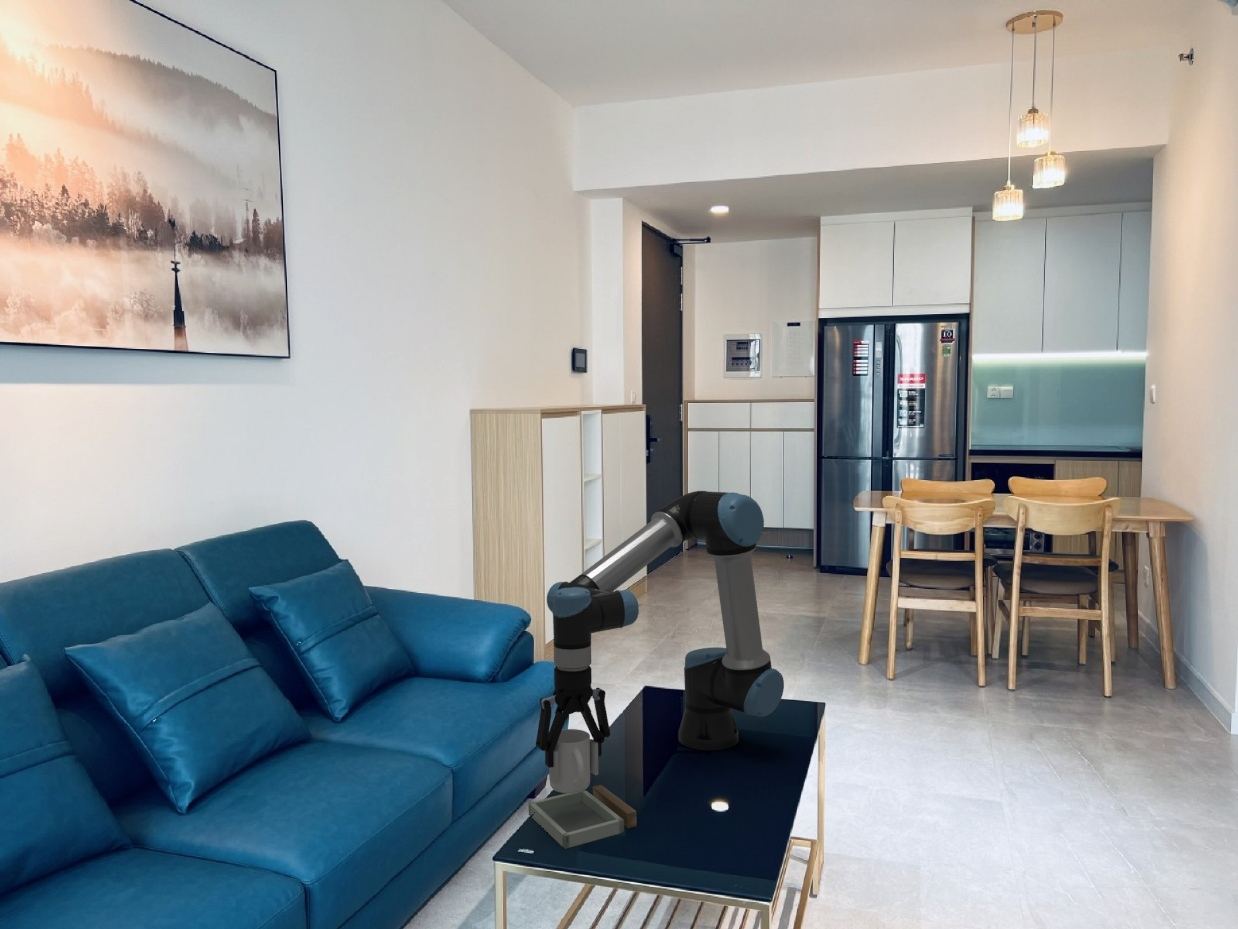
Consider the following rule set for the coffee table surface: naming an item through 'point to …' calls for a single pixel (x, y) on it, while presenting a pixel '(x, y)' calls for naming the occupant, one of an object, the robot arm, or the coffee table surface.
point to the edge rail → (616, 805)
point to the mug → (573, 761)
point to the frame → (576, 818)
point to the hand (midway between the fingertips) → (574, 777)
